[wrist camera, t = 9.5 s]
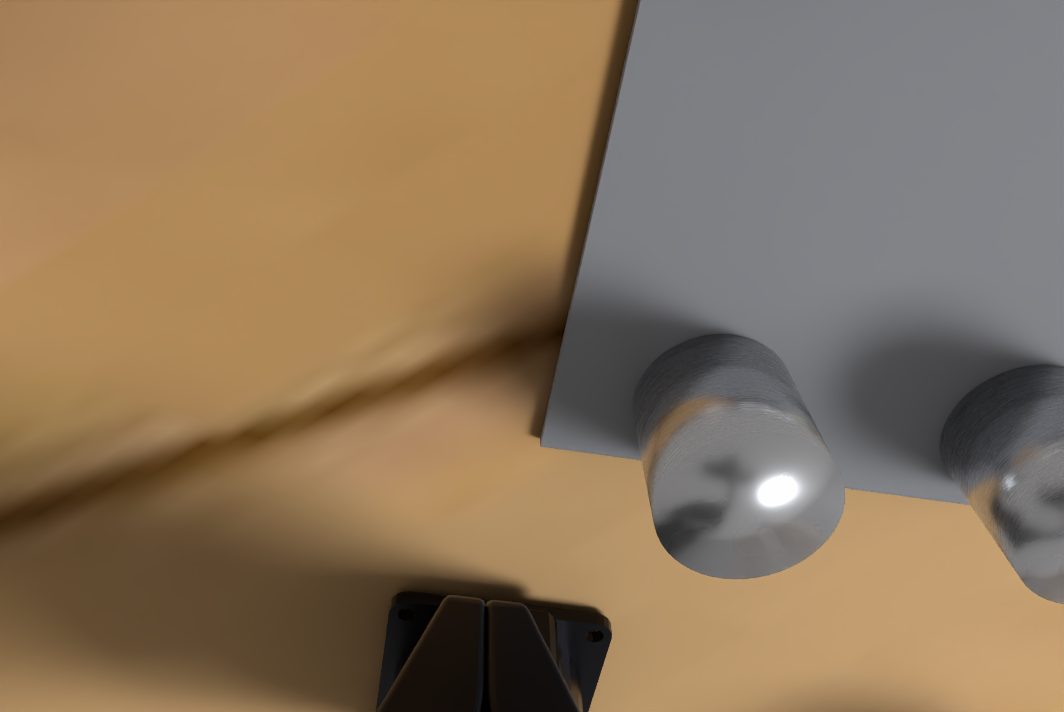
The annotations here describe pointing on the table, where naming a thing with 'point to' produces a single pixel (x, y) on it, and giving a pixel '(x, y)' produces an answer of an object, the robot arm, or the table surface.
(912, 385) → the mat
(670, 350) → the spacers
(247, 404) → the table surface
